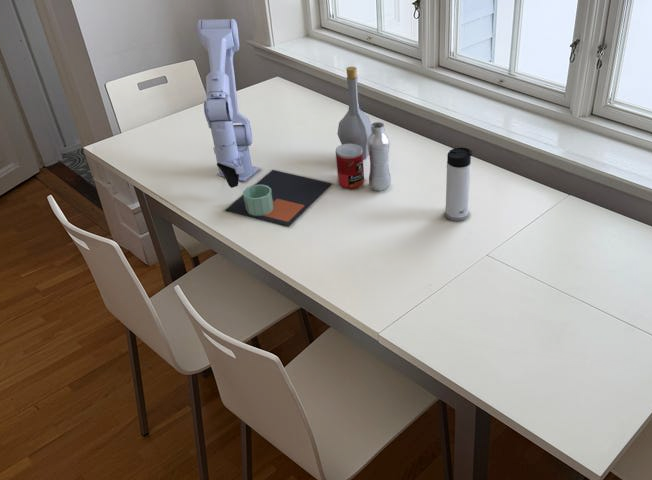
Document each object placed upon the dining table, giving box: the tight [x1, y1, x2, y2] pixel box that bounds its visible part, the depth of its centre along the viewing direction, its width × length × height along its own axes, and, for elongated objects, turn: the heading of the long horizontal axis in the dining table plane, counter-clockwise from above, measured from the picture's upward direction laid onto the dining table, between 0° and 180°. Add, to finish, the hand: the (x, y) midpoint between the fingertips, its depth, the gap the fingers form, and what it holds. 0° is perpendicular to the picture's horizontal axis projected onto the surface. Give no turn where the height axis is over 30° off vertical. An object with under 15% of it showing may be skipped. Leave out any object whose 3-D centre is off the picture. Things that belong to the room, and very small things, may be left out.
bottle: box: [336, 66, 372, 161], centre depth 198 cm, size 11×11×30 cm
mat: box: [225, 169, 332, 228], centre depth 190 cm, size 20×24×1 cm
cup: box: [242, 184, 274, 216], centre depth 183 cm, size 7×7×6 cm
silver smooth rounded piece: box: [367, 121, 392, 192], centre depth 189 cm, size 6×7×20 cm
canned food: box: [335, 144, 365, 190], centre depth 194 cm, size 8×8×11 cm
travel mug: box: [445, 147, 474, 222], centre depth 179 cm, size 6×7×20 cm
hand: (233, 185), depth 185 cm, fingers closed
